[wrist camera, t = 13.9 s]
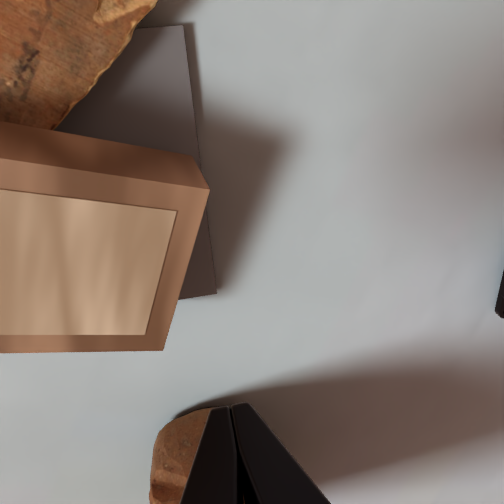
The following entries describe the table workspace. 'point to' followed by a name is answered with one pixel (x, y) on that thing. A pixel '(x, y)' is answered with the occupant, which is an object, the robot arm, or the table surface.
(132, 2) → the shard
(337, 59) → the table surface
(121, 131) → the mat
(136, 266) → the slab
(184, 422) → the brown oblong lump
